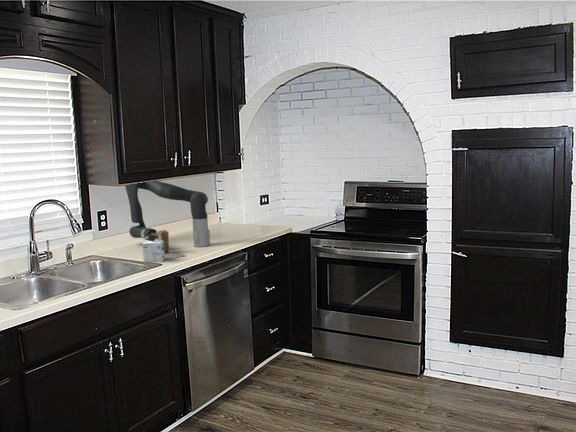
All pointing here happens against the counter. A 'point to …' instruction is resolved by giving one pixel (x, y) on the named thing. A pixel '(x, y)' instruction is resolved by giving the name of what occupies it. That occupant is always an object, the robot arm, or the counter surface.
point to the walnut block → (164, 239)
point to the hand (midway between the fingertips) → (161, 237)
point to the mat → (173, 255)
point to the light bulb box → (153, 251)
